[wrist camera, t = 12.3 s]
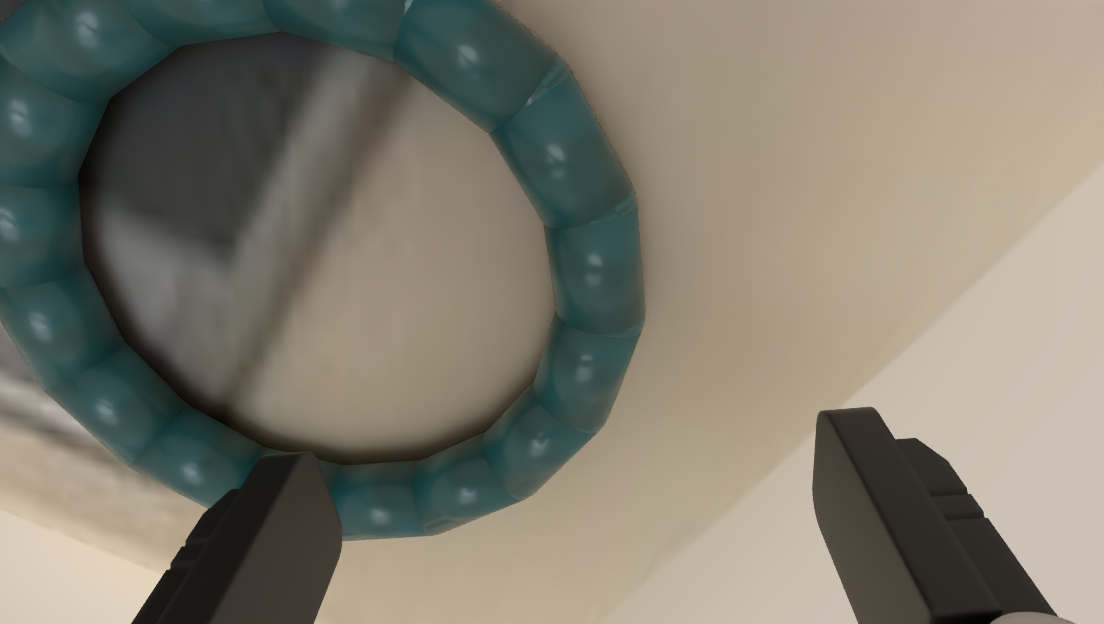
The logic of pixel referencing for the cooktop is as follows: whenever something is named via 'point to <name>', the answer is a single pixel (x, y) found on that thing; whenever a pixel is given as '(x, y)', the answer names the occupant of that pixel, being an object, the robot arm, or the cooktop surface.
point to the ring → (446, 69)
